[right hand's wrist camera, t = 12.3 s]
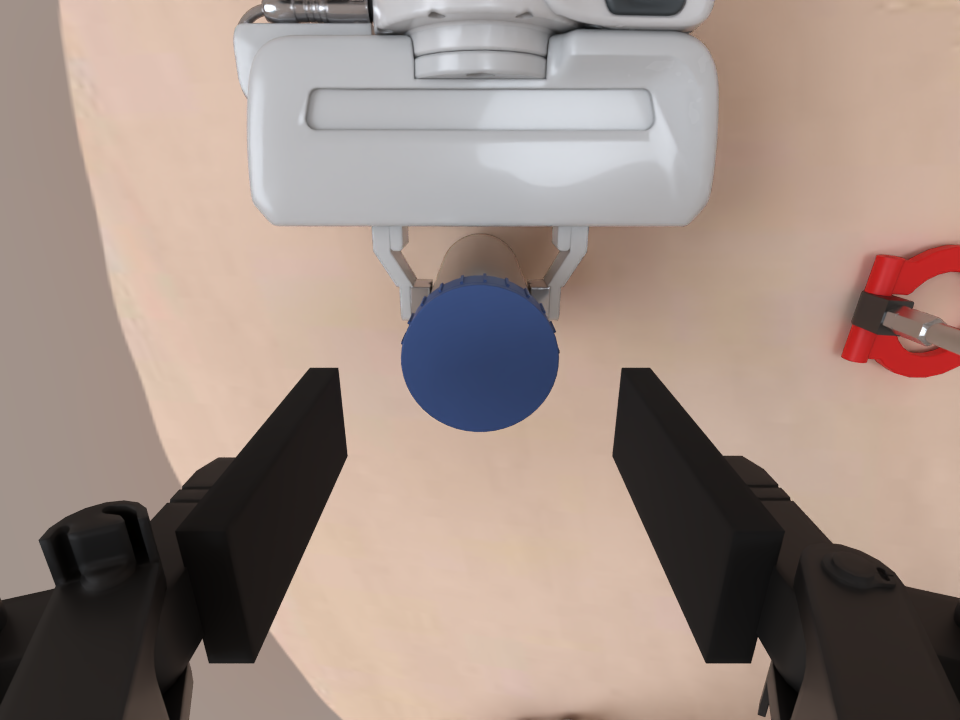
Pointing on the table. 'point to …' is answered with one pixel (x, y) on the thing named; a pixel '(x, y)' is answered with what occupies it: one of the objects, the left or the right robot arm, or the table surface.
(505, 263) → the thermos
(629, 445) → the right robot arm
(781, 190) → the table surface
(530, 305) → the lid
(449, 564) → the table surface
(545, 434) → the table surface
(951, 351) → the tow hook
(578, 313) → the table surface
